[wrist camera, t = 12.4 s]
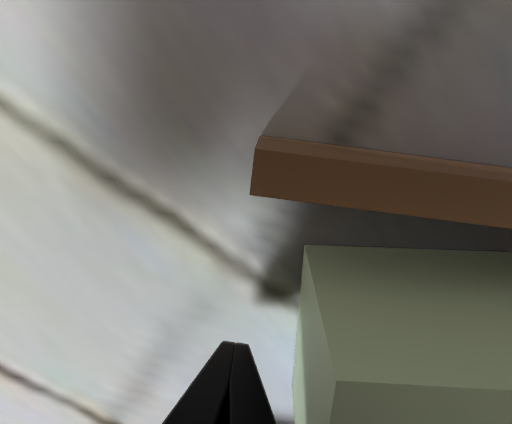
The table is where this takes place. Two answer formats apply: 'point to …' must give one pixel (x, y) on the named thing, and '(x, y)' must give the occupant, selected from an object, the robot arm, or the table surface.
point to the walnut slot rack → (382, 181)
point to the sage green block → (403, 336)
